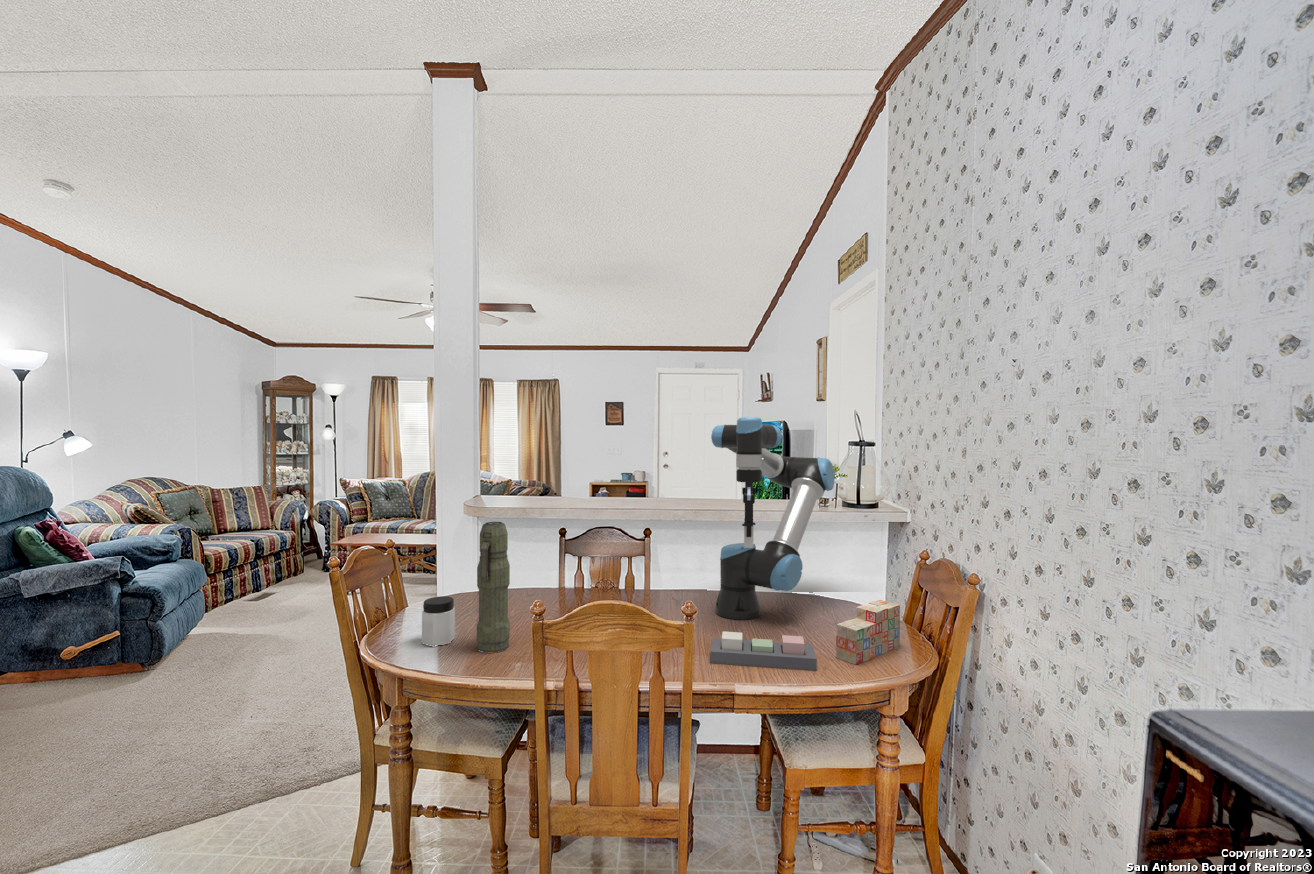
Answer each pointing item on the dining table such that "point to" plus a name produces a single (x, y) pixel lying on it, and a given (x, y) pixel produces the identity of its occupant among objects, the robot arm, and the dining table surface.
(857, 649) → the stack of blocks
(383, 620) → the dining table surface
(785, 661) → the button panel
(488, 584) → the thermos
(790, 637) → the rose button
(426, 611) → the jar
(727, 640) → the white button
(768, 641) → the sage button
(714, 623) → the dining table surface
